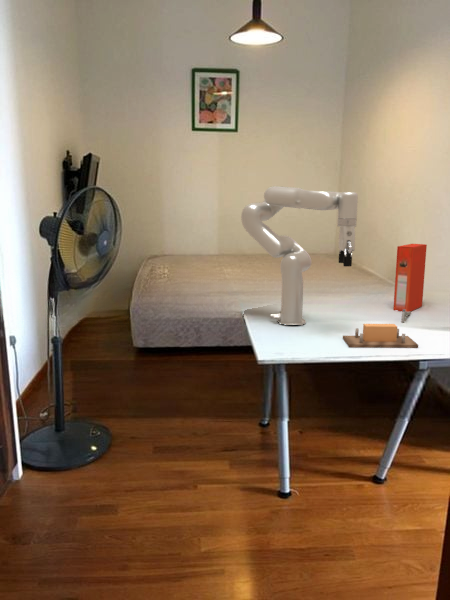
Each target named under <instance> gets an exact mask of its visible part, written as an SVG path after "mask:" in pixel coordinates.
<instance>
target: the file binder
mask: <svg viewBox="0 0 450 600" xmlns="http://www.w3.org/2000/svg"><path fill="white" fill-rule="evenodd" d="M427 246H428V245H427V244H423V243H410V244H404V245H398V246H397V247H396V263H395V264H396V265H395V266H396V267H395V277H394V278H395V279H394V295H393V311H395V310H398V311H397V312H401V311H402V312H403V309H406V310H405V311H407V312H413V311H415V310H417V309H419V308H421V307H423V301H424V299H423V298H424V285H425V275H426V274H425V272H426V270H425V269H426V260H427V259H426V257H427ZM402 312H401V313H402Z"/></svg>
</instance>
